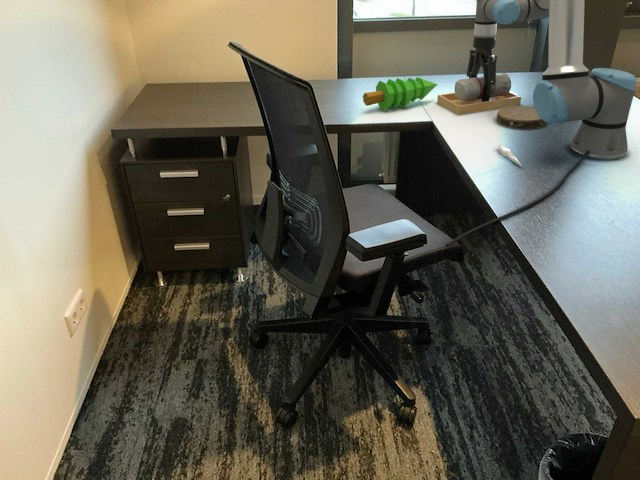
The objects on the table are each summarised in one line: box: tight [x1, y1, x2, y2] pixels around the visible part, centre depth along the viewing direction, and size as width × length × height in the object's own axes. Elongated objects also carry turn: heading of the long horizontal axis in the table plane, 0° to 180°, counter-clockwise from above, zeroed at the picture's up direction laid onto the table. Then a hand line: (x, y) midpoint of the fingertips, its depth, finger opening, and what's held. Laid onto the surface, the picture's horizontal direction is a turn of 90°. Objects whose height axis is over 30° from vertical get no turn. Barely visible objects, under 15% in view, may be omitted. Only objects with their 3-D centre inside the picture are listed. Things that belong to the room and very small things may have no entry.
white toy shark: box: [497, 144, 523, 167], centre depth 161 cm, size 15×3×2 cm, turn 9°
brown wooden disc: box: [496, 105, 547, 130], centre depth 187 cm, size 16×16×3 cm
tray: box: [436, 91, 522, 116], centre depth 206 cm, size 26×16×3 cm, turn 108°
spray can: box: [453, 72, 512, 101], centre depth 204 cm, size 8×8×20 cm
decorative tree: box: [362, 76, 439, 112], centre depth 206 cm, size 11×12×30 cm
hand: (478, 100), depth 205 cm, fingers closed on spray can, 8 cm apart
